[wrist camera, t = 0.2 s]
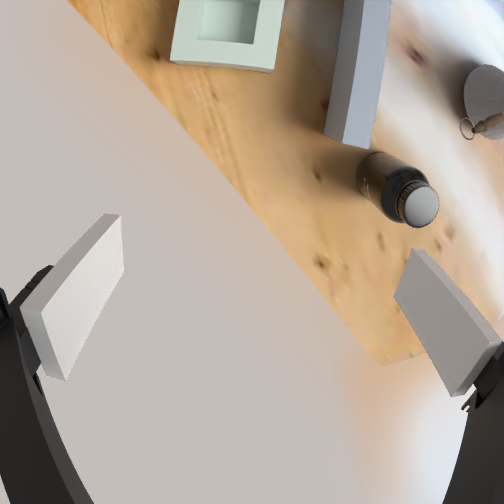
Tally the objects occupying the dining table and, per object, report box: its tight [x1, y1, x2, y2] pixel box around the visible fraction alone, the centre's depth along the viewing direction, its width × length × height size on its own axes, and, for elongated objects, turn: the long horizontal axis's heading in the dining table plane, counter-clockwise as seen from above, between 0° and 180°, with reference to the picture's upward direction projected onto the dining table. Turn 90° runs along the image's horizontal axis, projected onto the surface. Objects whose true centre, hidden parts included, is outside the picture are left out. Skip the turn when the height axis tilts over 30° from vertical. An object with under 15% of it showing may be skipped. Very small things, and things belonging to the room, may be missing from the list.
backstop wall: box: [324, 0, 391, 149], centre depth 28 cm, size 24×3×8 cm, turn 172°
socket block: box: [170, 0, 285, 73], centre depth 28 cm, size 11×11×5 cm
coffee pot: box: [460, 64, 504, 140], centre depth 27 cm, size 21×12×15 cm, turn 109°
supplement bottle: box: [357, 153, 439, 228], centre depth 34 cm, size 7×7×12 cm
